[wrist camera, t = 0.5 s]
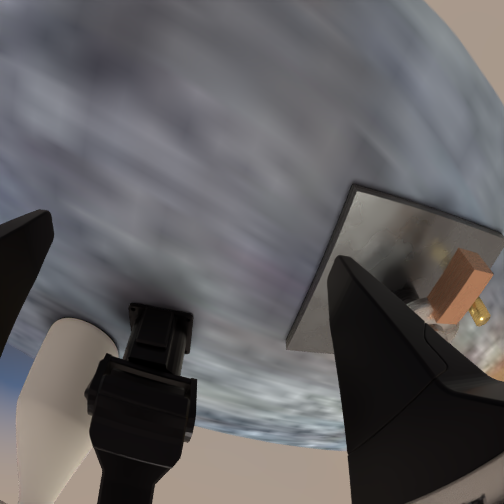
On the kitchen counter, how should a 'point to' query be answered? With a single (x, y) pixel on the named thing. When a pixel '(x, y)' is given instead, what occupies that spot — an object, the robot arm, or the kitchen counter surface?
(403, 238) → the post plate
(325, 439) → the kitchen counter surface
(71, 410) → the wine bottle
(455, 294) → the disc with brown handle
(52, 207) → the kitchen counter surface
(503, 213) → the kitchen counter surface
